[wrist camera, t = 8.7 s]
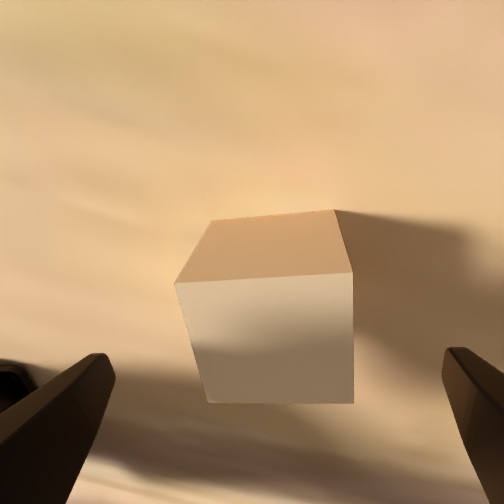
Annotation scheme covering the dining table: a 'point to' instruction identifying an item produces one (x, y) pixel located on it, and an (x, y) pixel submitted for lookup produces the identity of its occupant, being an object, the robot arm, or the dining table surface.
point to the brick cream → (271, 310)
